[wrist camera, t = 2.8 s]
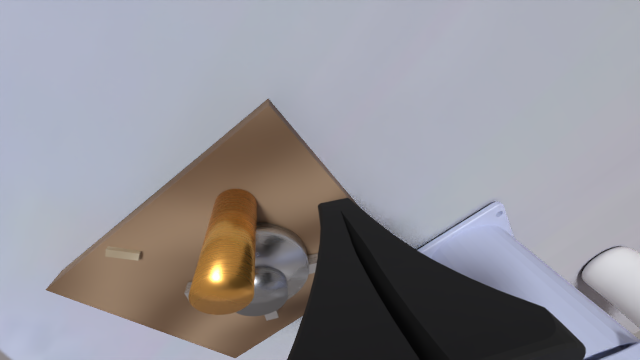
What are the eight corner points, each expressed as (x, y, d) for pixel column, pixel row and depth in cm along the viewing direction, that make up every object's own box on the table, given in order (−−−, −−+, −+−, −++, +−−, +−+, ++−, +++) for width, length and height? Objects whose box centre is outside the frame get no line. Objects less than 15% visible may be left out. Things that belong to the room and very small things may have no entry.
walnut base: (389, 243, 18) (399, 258, 17) (236, 342, 20) (235, 361, 19) (268, 98, 11) (269, 106, 10) (61, 270, 14) (42, 293, 12)
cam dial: (328, 295, 17) (349, 378, 13) (212, 323, 17) (195, 423, 12) (312, 173, 12) (339, 248, 8) (140, 205, 11) (68, 308, 7)
